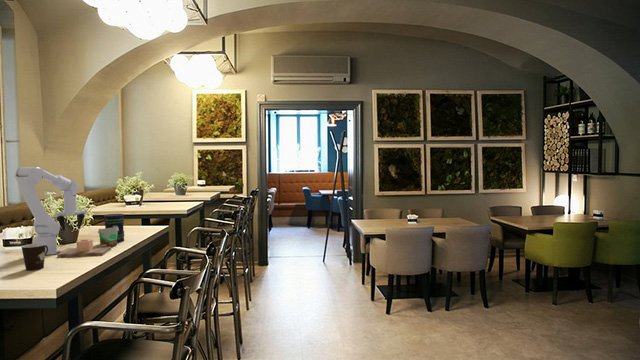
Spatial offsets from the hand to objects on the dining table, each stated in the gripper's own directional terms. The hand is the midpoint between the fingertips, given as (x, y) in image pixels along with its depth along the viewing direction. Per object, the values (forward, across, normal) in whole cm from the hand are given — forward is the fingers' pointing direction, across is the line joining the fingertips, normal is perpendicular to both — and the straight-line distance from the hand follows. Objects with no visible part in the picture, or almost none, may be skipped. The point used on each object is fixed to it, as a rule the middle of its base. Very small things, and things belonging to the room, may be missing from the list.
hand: (71, 229), depth 233 cm
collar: (+8, -1, -22) cm, 23 cm away
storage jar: (+10, +22, -1) cm, 24 cm away
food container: (+10, +15, -14) cm, 22 cm away
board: (+9, -1, -22) cm, 24 cm away
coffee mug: (+10, -25, -37) cm, 46 cm away
